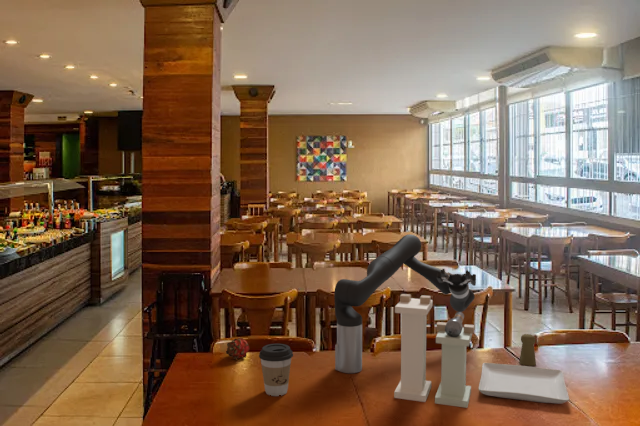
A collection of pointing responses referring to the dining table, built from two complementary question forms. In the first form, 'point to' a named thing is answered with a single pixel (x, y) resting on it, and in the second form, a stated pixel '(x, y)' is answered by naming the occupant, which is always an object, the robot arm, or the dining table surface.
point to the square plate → (523, 383)
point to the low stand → (453, 367)
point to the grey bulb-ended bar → (455, 325)
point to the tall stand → (413, 348)
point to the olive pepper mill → (527, 350)
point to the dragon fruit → (237, 348)
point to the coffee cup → (276, 368)
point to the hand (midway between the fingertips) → (454, 271)
